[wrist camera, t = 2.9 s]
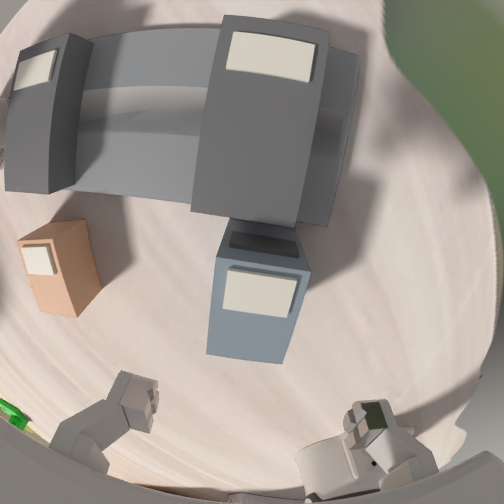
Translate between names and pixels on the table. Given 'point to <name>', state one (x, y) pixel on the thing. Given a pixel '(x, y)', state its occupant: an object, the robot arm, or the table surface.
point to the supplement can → (3, 127)
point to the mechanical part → (14, 415)
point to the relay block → (61, 267)
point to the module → (256, 292)
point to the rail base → (187, 118)
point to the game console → (259, 499)
